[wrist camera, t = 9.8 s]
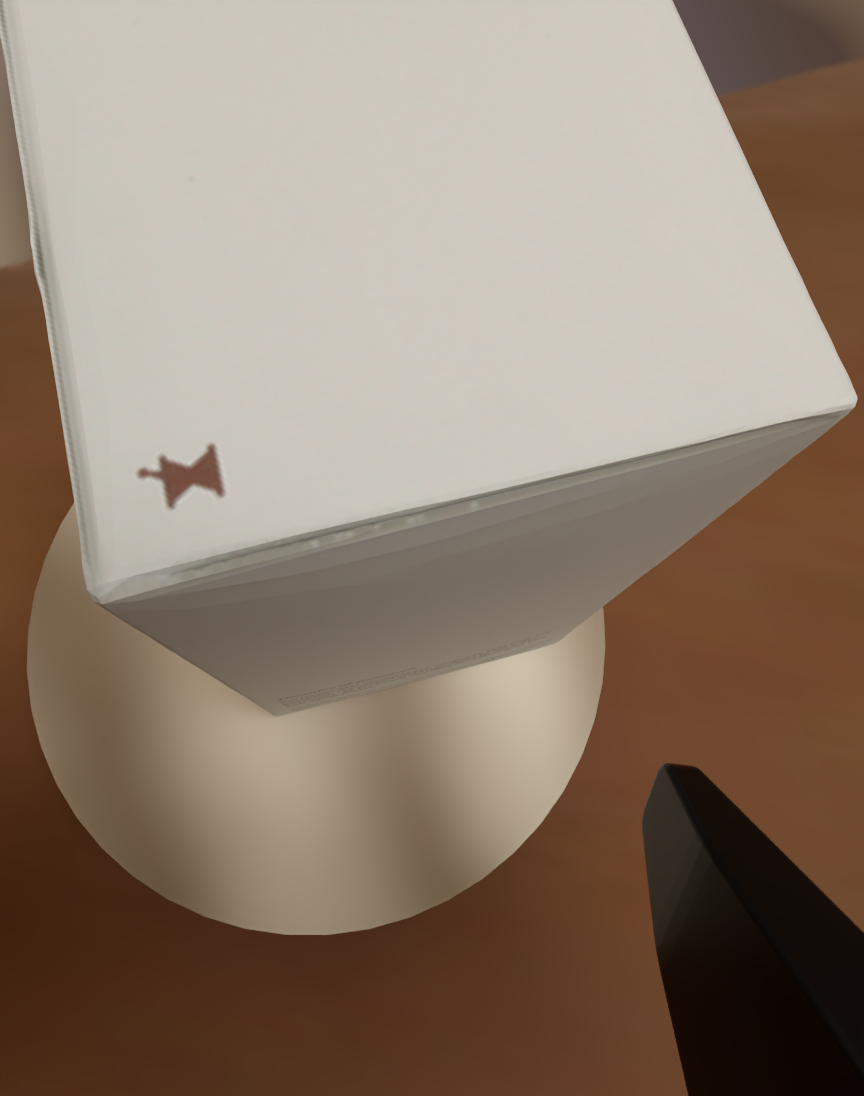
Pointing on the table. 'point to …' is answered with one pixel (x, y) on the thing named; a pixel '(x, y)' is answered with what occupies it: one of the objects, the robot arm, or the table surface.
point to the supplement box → (397, 320)
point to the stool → (298, 768)
